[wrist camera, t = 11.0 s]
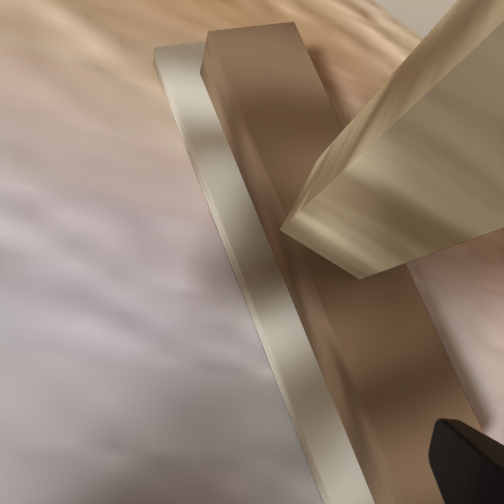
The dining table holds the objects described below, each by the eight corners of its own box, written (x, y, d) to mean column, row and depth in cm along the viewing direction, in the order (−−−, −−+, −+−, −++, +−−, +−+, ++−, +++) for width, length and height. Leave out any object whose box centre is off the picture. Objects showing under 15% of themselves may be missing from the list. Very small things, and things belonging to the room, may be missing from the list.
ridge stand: (490, 500, 21) (569, 532, 17) (361, 599, 18) (421, 665, 14) (284, 45, 26) (310, -11, 22) (153, 63, 23) (155, 1, 19)
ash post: (359, 279, 18) (826, 110, 6) (279, 229, 17) (599, -69, 5) (390, 205, 19) (806, -49, 7) (317, 158, 19) (631, -197, 7)
